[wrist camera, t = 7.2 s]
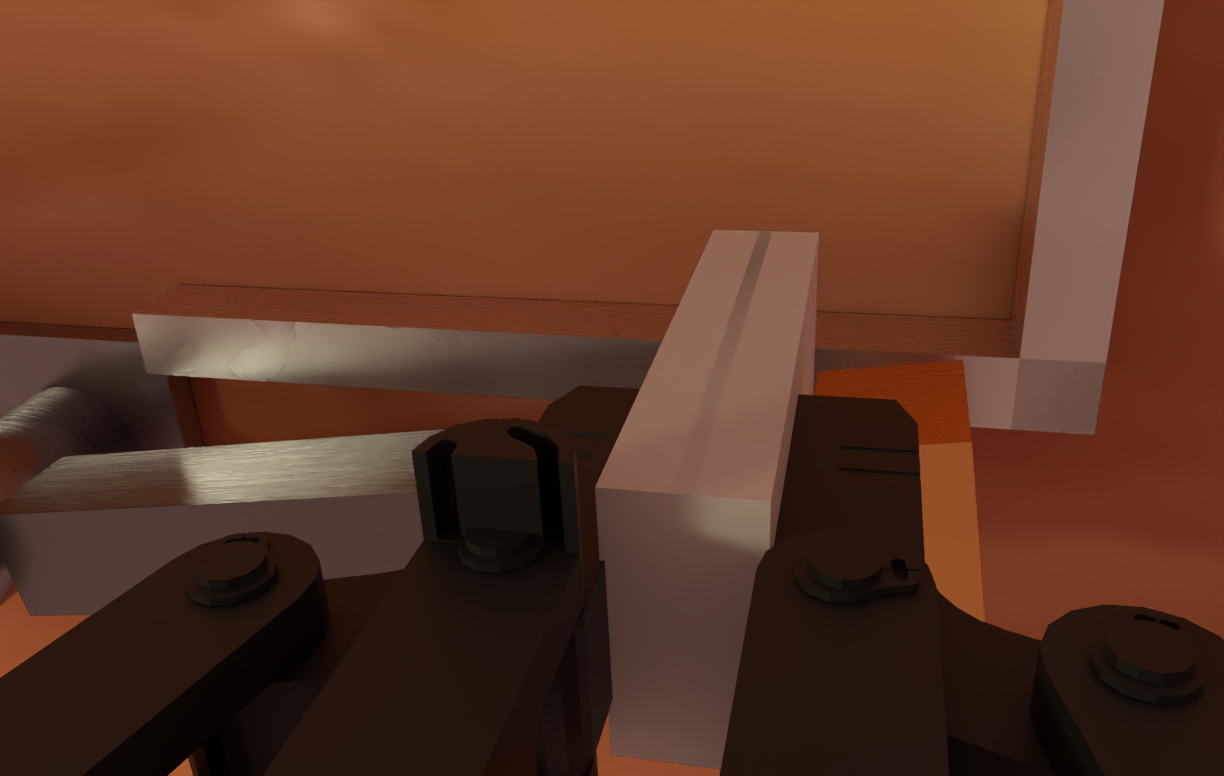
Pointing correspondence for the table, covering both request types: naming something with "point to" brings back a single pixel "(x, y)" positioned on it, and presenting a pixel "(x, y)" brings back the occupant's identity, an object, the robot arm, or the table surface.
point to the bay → (990, 349)
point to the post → (81, 403)
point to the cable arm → (381, 501)
